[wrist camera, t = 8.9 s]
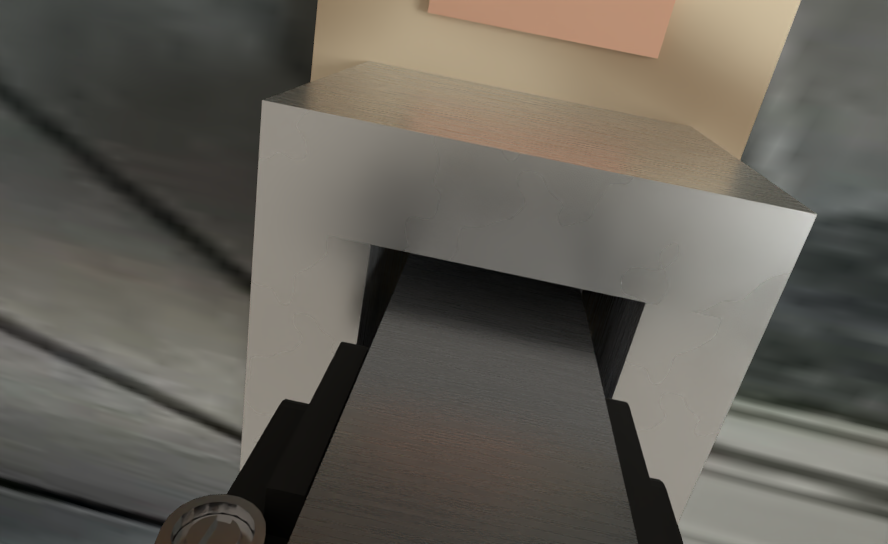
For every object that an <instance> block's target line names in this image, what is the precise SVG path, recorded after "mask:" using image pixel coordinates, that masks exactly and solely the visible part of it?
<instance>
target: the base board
mask: <svg viewBox="0 0 888 544" xmlns="http://www.w3.org/2000/svg"><path fill="white" fill-rule="evenodd" d="M429 1H430V0H318V5H317V16H316V27H315V38H314V49H313V60H312V71H311V82H312V81H315V80H318V79H321V78H323V77H326V76H329V75H331V74H334V73H337V72H340V71H342V70H345V69H348V68H350V67H353V66H356V65H359V64H361V63H364V62H367V61H371V62H376V63H381V64H386V65H391V66H396V67H401V68H406V69H411V70H416V71H421V72H426V73H430V74H435V75H440V76H445V77H450V78H455V79H460V80H465V81H470V82H475V83H480V84H485V85H490V86H495V87H499V88H504V89H509V90H514V91H519V92H524V93H529V94H534V95H539V96H544V97H549V98H554V99H559V100H563V101H568V102H573V103H578V104H583V105H588V106H593V107H598V108H603V109H608V110H613V111H618V112H623V113H627V114H632V115H637V116H642V117H647V118H652V119H657V120H662V121H667V122H672V123H677V124H682V125H687V126H691V127H693V128H694V129H696V130H697V131H699V132H700V133H701V134H703V135H704V136H706V137H707V138H709V139H710V140H712V141H713V142H714V143H716V144H717V145H719V146H720V147H722V148H723V149H724V150H726V151H727V152H729V153H730V154H732V155H733V156H734V157H736V158H737V159H739V160H740V159H741V156H742V153H743V151H744V148H745V146H746V143H747V140H748V138H749V135H750V132H751V130H752V127H753V125H754V122H755V119H756V117H757V114H758V112H759V109H760V106H761V104H762V101H763V98H764V96H765V93H766V91H767V88H768V85H769V83H770V80H771V78H772V75H773V72H774V70H775V67H776V64H777V62H778V59H779V57H780V54H781V51H782V49H783V46H784V44H785V41H786V38H787V36H788V33H789V30H790V28H791V25H792V23H793V20H794V17H795V15H796V12H797V10H798V7H799V4H800V2H801V0H676V1H675V4H674V7H673V11H672V14H671V17H670V20H669V24H668V27H667V30H666V33H665V37H664V40H663V43H662V47H661V50H660V53H659V56H658V59H657V58H652V57H647V56H642V55H637V54H632V53H627V52H622V51H617V50H612V49H607V48H602V47H597V46H592V45H587V44H582V43H577V42H572V41H567V40H562V39H557V38H552V37H547V36H542V35H537V34H532V33H527V32H522V31H517V30H512V29H507V28H502V27H497V26H492V25H487V24H482V23H477V22H472V21H467V20H462V19H457V18H452V17H447V16H442V15H437V14H432V13H428V7H429Z"/></svg>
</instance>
